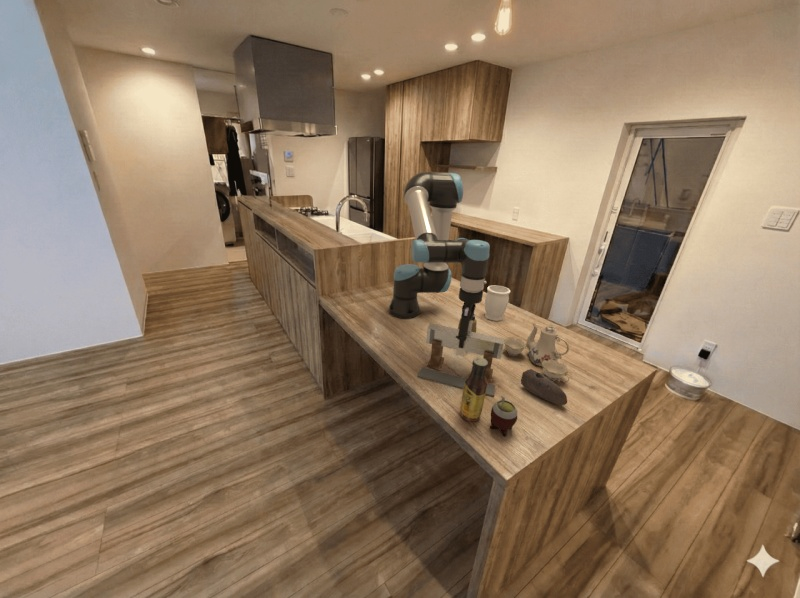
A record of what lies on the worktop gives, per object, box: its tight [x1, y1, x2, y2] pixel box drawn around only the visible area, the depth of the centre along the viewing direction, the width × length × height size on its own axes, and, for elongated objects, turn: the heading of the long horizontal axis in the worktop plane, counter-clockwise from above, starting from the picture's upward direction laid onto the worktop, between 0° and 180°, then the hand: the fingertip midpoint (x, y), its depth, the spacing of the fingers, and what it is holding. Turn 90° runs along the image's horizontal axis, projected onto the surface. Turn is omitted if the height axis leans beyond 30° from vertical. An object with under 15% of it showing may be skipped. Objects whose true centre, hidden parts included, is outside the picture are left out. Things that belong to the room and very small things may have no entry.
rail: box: [425, 322, 505, 360], centre depth 112 cm, size 26×4×6 cm, turn 70°
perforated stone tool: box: [520, 368, 568, 406], centre depth 104 cm, size 15×5×7 cm, turn 38°
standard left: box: [426, 341, 445, 371], centre depth 117 cm, size 5×7×11 cm
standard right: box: [482, 352, 494, 383], centre depth 112 cm, size 5×7×11 cm
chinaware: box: [503, 322, 571, 383], centre depth 120 cm, size 28×17×17 cm, turn 37°
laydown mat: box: [416, 366, 496, 398], centre depth 110 cm, size 26×6×1 cm, turn 70°
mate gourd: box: [489, 395, 518, 438], centre depth 89 cm, size 8×8×15 cm
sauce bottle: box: [459, 356, 488, 422], centre depth 92 cm, size 7×6×20 cm
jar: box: [484, 284, 511, 322], centre depth 154 cm, size 11×10×15 cm
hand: (463, 345), depth 113 cm, fingers open, 13 cm apart
